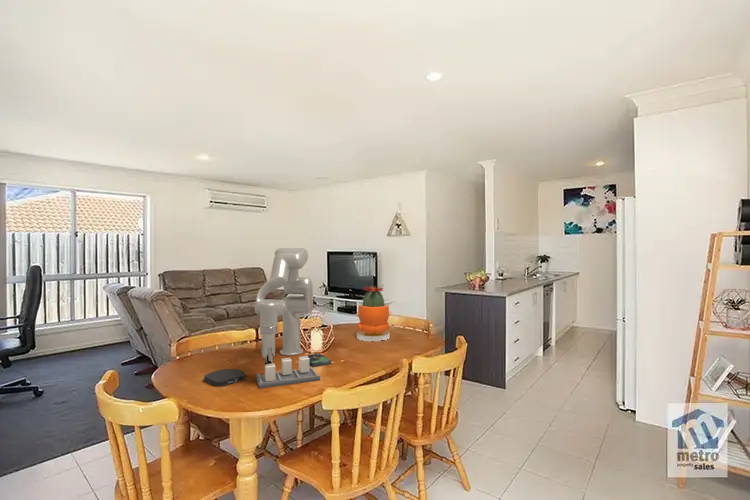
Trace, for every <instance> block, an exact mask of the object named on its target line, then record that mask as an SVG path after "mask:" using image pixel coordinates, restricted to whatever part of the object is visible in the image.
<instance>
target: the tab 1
mask: <svg viewBox="0 0 750 500" xmlns="http://www.w3.org/2000/svg"><path fill="white" fill-rule="evenodd" d="M275 373H276V365H275V363H271V364H266V365H265V364H264V375H265V381H266V382H267V381H275Z"/></svg>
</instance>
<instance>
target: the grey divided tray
mask: <svg viewBox="0 0 750 500" xmlns="http://www.w3.org/2000/svg"><path fill="white" fill-rule="evenodd" d="M255 377H256V383H257V386H258V388H259V389H264V388H265V389H266V388H272V387H281V386H287V385H296V384H303V382H304V383H311V382H317V381H321V375H319V374H318V373H317V372H316V370H315V369H314V367H311V366H309V372H305V373H300V371H299V369H296V368H292V374H288V375H282V373H281V372H279V371H278V370H275V381H267V382H266V381H265V374H260V372H257V375H255ZM310 381H311V382H310Z"/></svg>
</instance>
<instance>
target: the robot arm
mask: <svg viewBox="0 0 750 500" xmlns="http://www.w3.org/2000/svg"><path fill="white" fill-rule="evenodd" d="M308 259H309V253H308V250H307V249H306V248H302V247H300V248H299V247H281V248H277V249H276V250H275V251H274V257H273V262H272V266H271V272H270V278H269V279H268V280H267V281H265V283H264V284H262V286H261V287H260V288H259V290H258V292H257V294H256V299H255V302H254V313H255V314H256V315H258V316H259V334H260V335H261V351H260V352H261V356H262V357H263V359H264V366H265V365H266V364H271V363H273V358H274V357H275V356H276V354H275V353H276V335H277V334H278V331H279V330H278V326H279V325H278V324H279V323H278V317H280V316H282V349H280V351H279V354H280V355H283V356H297V355H301V354H302V353H303V352H304V350H303V348H301V319H300V317H299V316H298V314H311V313H312V312H313V310H314V293H313V292H314V290H313V289H314V287H313V282H312V279H311V278H310V277H307V276H300V275H299V270H301V269H302V268H303V267H304V266H305V265H306V263H307V262H308ZM282 287H283V292H284V293H285V294H287V295H289V296H287V295H286V296H285V297H283V298H282V299H272V298H271V299H270V298H269V299H266V296H267V295H268V294H270V293H271V292H273V291H276V290H277V289H280V288H282Z"/></svg>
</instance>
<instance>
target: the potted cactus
mask: <svg viewBox="0 0 750 500" xmlns="http://www.w3.org/2000/svg"><path fill="white" fill-rule="evenodd" d="M383 286H384V284H382V285H380V286H378V287H375V286H372V285H371V286H369V287H368V286H367V285H364V288H362V289H361V290H363V291H366V292H365V294H364V296H363V297H362V301H361V304H359V305H358V309H357V312H356V316H357V318H358V319H359V320H358V321H359V322H358V323H357V330H358V332H356V339H357V340H358V339H359V340H358V341H361V340H363V341H362V342H371V341H374V342H382V341H381V340H385V341H388V340H390V339H389V338H391V337H390V336H391V335H390V332H389V331H388V330H389V329H390V323H389V322H388V321H389V317H390V316H391V315H392V312H391V310H390V308H389V307H390V306H389V305H388V304H386V303H385V302H386V301H385V298H384V296H383V294H382V291H384V287H383ZM387 339H388V340H387Z"/></svg>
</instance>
